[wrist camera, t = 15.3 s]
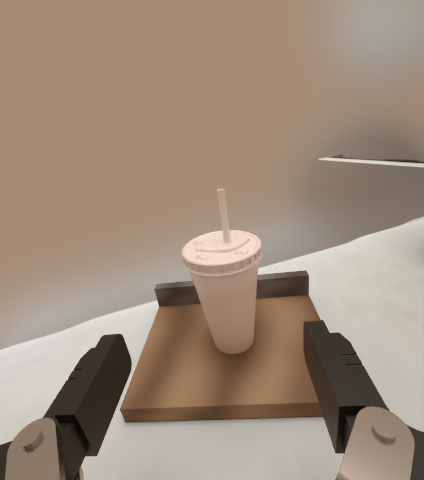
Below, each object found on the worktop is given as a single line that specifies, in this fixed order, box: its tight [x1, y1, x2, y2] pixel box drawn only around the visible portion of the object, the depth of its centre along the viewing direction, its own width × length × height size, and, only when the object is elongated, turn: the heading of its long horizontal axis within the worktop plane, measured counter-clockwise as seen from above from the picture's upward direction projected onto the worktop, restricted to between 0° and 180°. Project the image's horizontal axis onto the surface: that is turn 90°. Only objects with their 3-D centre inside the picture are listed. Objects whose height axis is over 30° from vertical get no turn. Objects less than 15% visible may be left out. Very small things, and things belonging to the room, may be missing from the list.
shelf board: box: [120, 271, 323, 422], centre depth 24 cm, size 17×13×4 cm
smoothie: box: [182, 188, 263, 354], centre depth 21 cm, size 6×6×14 cm
